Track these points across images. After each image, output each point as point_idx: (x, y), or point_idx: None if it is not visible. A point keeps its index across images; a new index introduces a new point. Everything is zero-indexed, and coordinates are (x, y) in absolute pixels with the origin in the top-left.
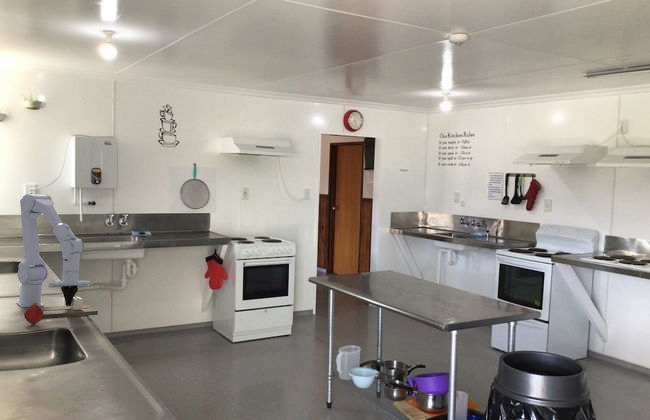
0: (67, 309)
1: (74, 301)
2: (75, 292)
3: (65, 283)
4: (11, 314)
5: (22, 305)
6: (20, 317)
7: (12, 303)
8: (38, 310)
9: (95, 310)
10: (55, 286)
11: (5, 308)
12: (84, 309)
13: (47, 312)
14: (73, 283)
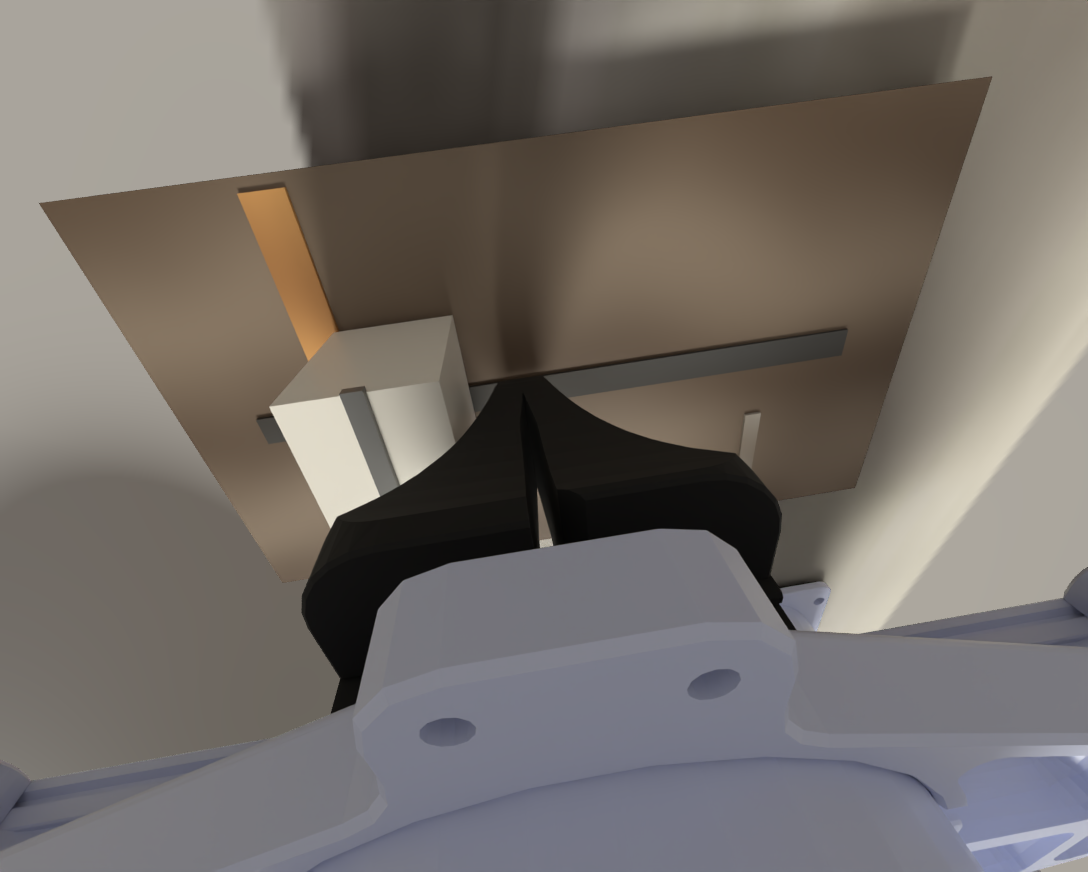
0: (526, 377)
1: (439, 365)
2: (407, 485)
3: (939, 719)
4: (1014, 387)
5: (813, 610)
6: (1037, 237)
7: None
8: None
9: (99, 250)
10: (1002, 638)
11: (922, 571)
12: (298, 350)
13: (811, 232)
14: (516, 715)
